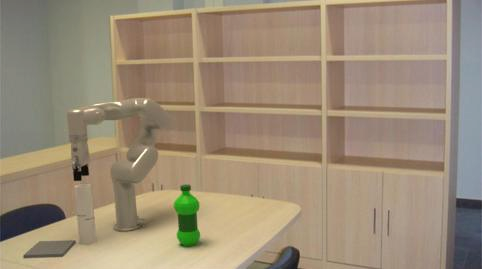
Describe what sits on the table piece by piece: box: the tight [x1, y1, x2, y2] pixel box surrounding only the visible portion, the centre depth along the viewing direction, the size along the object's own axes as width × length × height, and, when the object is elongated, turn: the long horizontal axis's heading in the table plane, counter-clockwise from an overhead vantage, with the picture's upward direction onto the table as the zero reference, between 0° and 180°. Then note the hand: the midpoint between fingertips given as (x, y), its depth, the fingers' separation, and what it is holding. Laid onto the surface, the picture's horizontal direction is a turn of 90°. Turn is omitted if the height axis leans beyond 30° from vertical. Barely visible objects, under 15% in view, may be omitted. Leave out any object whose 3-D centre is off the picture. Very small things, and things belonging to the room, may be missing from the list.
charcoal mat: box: [23, 239, 77, 259], centre depth 223 cm, size 16×16×1 cm
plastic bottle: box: [173, 184, 201, 247], centre depth 221 cm, size 10×10×25 cm
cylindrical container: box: [73, 183, 97, 246], centre depth 230 cm, size 7×7×25 cm
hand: (81, 178), depth 227 cm, fingers open, 9 cm apart
